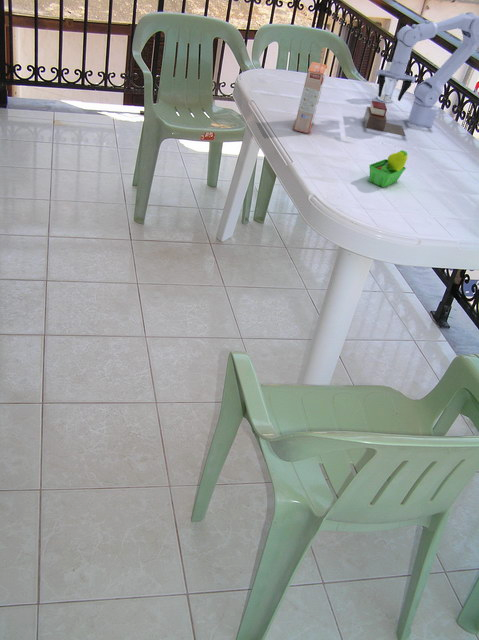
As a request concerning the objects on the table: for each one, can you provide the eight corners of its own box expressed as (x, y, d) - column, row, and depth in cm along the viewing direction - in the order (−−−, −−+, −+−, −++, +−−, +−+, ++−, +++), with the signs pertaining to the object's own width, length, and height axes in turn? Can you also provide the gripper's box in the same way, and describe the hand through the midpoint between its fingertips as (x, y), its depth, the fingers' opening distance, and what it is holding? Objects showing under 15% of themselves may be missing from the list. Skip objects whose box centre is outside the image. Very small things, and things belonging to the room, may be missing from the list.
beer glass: (373, 97, 293) (383, 61, 285) (385, 97, 296) (396, 62, 288) (382, 102, 288) (393, 66, 280) (395, 103, 292) (406, 67, 283)
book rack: (400, 129, 261) (405, 114, 258) (404, 140, 251) (409, 124, 248) (362, 121, 261) (367, 106, 257) (364, 131, 251) (369, 115, 247)
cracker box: (309, 134, 236) (324, 73, 225) (292, 130, 237) (306, 69, 225) (313, 123, 248) (328, 64, 236) (297, 119, 248) (311, 60, 237)
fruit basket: (381, 173, 218) (391, 139, 211) (405, 184, 214) (417, 149, 207) (363, 180, 210) (374, 145, 203) (388, 191, 206) (400, 156, 199)
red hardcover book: (382, 111, 256) (384, 103, 254) (384, 117, 249) (387, 109, 247) (369, 108, 256) (371, 100, 254) (371, 114, 249) (373, 106, 247)
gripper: (382, 60, 248) (371, 97, 256) (420, 68, 249) (409, 105, 256) (380, 55, 254) (369, 92, 262) (418, 63, 255) (406, 99, 262)
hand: (389, 98), depth 260 cm, fingers open, 7 cm apart
